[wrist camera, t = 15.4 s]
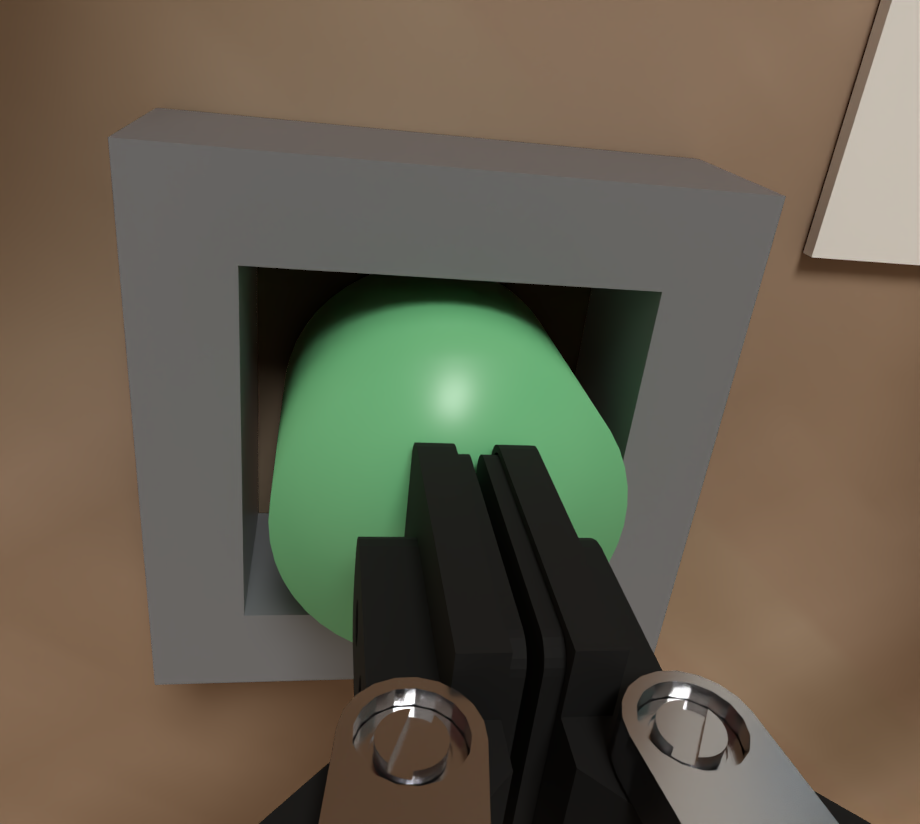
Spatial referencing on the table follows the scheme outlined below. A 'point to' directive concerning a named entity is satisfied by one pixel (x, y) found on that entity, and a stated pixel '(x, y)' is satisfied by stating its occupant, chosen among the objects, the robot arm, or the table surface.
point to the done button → (420, 422)
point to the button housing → (420, 255)
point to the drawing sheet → (877, 152)
